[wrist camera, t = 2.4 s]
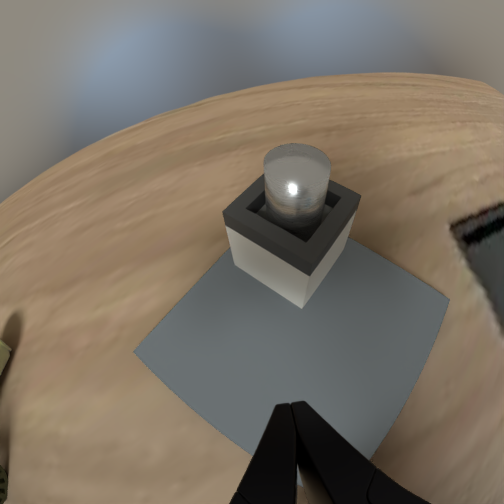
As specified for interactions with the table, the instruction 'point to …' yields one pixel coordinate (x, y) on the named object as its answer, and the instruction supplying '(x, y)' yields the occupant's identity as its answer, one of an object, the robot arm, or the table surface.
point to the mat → (299, 347)
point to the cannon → (0, 478)
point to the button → (296, 188)
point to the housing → (288, 241)
